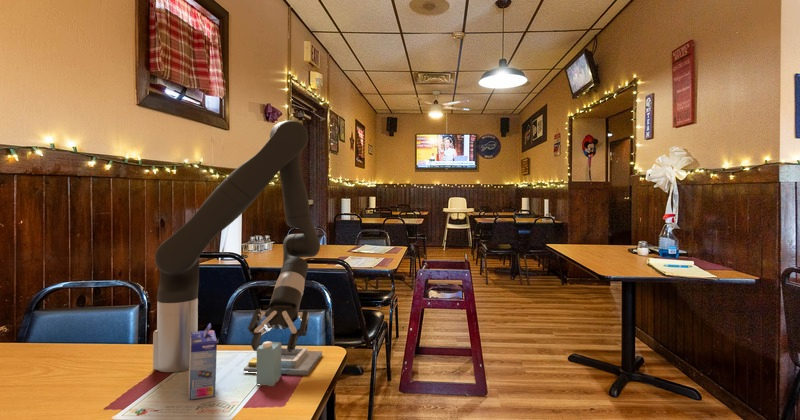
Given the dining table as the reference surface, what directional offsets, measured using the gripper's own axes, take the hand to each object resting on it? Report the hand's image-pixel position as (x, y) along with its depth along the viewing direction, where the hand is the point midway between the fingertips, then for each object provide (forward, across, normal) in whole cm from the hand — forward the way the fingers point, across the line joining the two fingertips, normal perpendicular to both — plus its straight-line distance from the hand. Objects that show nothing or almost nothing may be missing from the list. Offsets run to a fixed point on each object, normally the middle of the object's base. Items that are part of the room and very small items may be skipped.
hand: (271, 350), depth 100 cm
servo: (+6, 0, +4) cm, 7 cm away
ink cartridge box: (+10, -13, 0) cm, 17 cm away
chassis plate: (-2, 0, +12) cm, 12 cm away
